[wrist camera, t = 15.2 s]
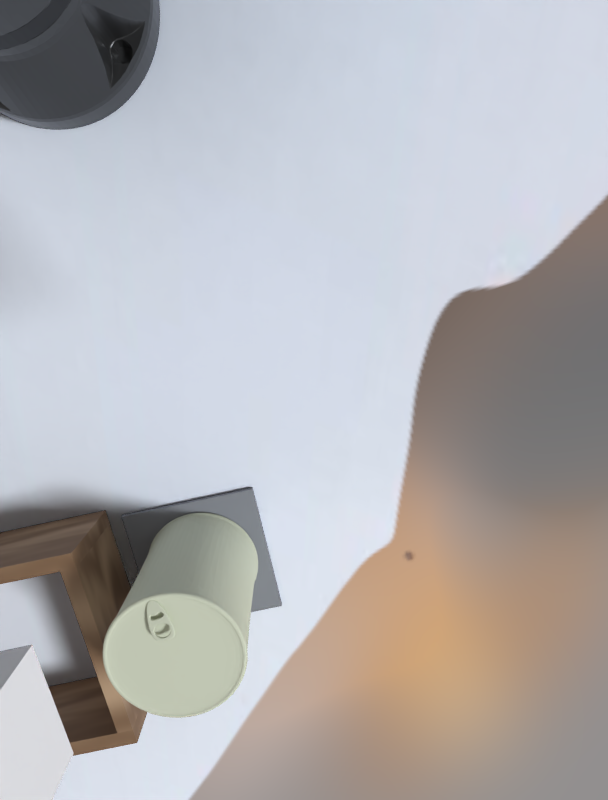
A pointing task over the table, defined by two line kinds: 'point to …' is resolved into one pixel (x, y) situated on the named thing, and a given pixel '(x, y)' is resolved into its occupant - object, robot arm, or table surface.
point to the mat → (228, 505)
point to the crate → (81, 619)
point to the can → (185, 619)
